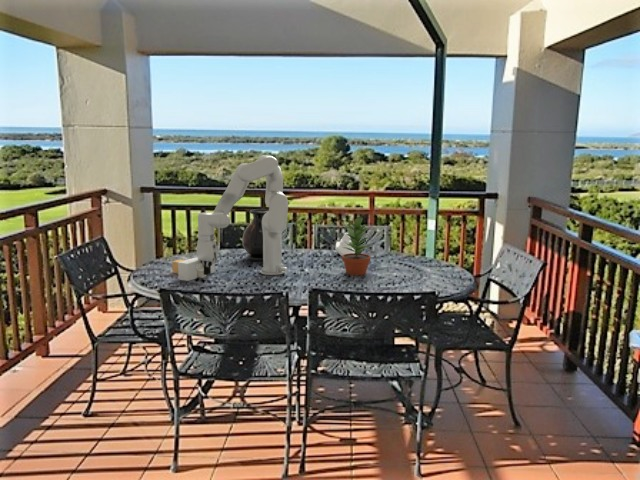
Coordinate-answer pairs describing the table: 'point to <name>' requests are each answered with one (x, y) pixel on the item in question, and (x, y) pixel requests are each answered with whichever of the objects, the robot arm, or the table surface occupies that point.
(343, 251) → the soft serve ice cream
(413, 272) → the table surface
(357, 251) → the potted plant
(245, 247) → the amphora vase
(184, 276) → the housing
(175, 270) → the plug
